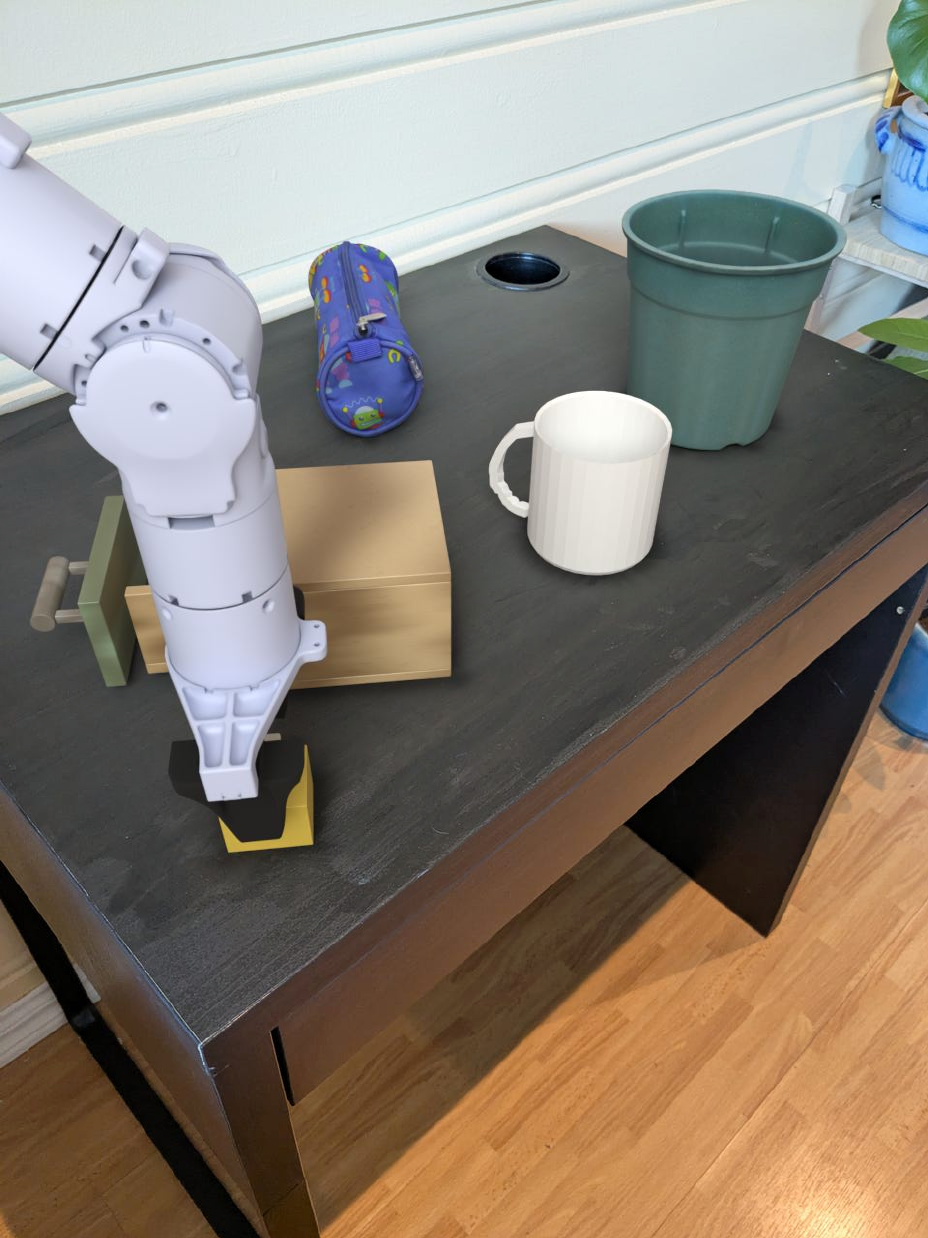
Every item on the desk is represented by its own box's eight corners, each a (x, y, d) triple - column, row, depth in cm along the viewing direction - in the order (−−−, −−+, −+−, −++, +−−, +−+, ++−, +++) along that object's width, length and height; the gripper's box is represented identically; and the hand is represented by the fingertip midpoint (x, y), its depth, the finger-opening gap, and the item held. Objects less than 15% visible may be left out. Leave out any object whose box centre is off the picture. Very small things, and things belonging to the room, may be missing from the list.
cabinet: (230, 694, 58) (206, 589, 52) (240, 574, 66) (220, 471, 61) (451, 677, 59) (451, 572, 54) (433, 560, 68) (431, 459, 62)
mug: (670, 523, 71) (691, 412, 65) (623, 593, 65) (641, 478, 59) (525, 477, 75) (531, 368, 69) (468, 538, 69) (470, 426, 63)
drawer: (38, 692, 57) (2, 608, 52) (69, 581, 64) (40, 499, 60) (316, 671, 58) (304, 587, 54) (314, 564, 66) (304, 483, 61)
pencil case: (427, 441, 79) (425, 332, 72) (322, 449, 78) (310, 339, 71) (399, 322, 95) (395, 223, 88) (311, 327, 94) (301, 228, 87)
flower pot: (562, 395, 85) (579, 207, 74) (707, 352, 91) (741, 174, 80) (681, 489, 74) (721, 287, 63) (836, 434, 80) (896, 241, 69)
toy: (228, 853, 50) (211, 794, 46) (232, 791, 53) (217, 731, 49) (313, 845, 50) (303, 786, 47) (313, 784, 53) (303, 724, 50)
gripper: (317, 683, 35) (346, 888, 44) (315, 461, 45) (338, 664, 54) (117, 700, 34) (189, 904, 43) (162, 470, 45) (212, 674, 54)
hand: (263, 771), depth 49 cm, fingers open, 7 cm apart
